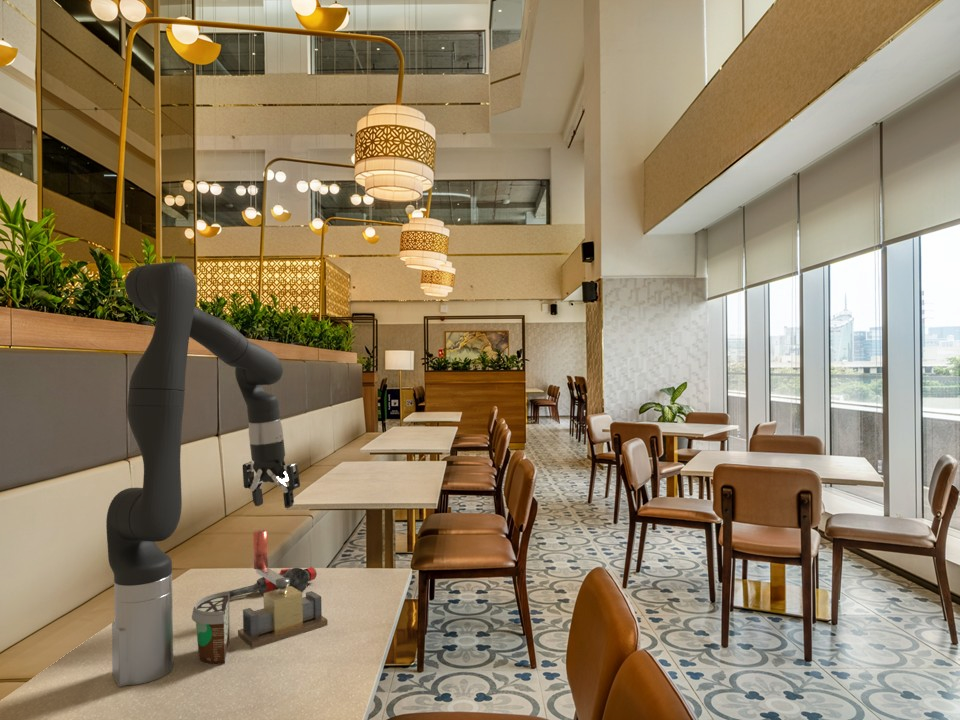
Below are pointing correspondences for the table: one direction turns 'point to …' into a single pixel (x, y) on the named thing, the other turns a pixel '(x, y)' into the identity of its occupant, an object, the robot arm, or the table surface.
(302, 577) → the valve
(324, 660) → the table surface
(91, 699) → the table surface
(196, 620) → the food container
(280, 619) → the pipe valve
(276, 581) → the lever
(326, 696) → the table surface
